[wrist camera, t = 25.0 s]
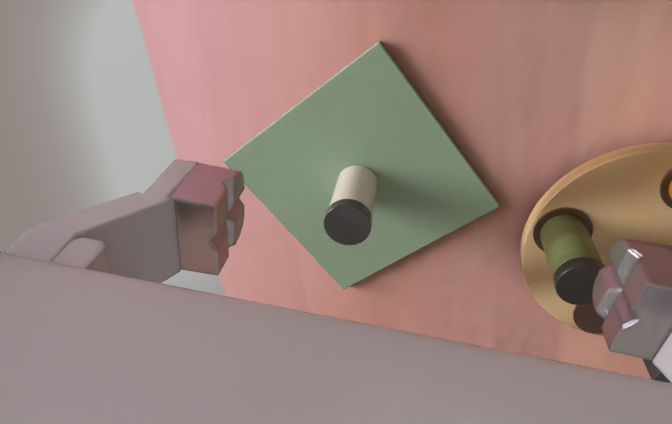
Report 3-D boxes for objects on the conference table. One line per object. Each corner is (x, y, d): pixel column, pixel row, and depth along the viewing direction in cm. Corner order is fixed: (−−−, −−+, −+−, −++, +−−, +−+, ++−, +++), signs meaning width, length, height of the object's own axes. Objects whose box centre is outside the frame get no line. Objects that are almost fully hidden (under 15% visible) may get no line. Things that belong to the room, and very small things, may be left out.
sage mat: (379, 40, 34) (379, 42, 34) (498, 202, 39) (499, 206, 39) (225, 158, 41) (223, 161, 40) (344, 285, 46) (343, 289, 45)
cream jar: (328, 174, 40) (314, 216, 35) (365, 157, 38) (356, 198, 33) (349, 207, 41) (338, 251, 36) (386, 191, 40) (379, 235, 35)
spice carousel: (485, 201, 38) (507, 326, 27) (740, 98, 32) (900, 208, 21) (563, 349, 45) (606, 499, 34) (789, 288, 38) (931, 448, 28)
